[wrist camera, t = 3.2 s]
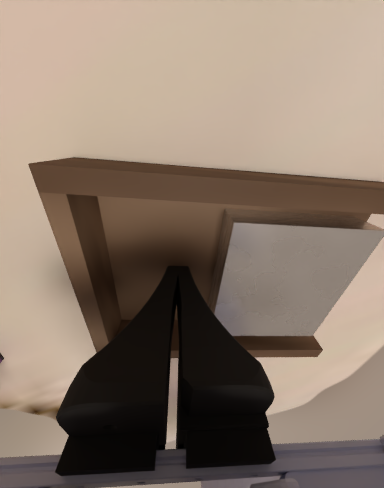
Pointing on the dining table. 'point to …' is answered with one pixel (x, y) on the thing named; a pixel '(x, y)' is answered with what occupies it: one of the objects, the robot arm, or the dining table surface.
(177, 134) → the dining table surface
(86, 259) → the walnut box
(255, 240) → the cover plate
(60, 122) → the dining table surface
